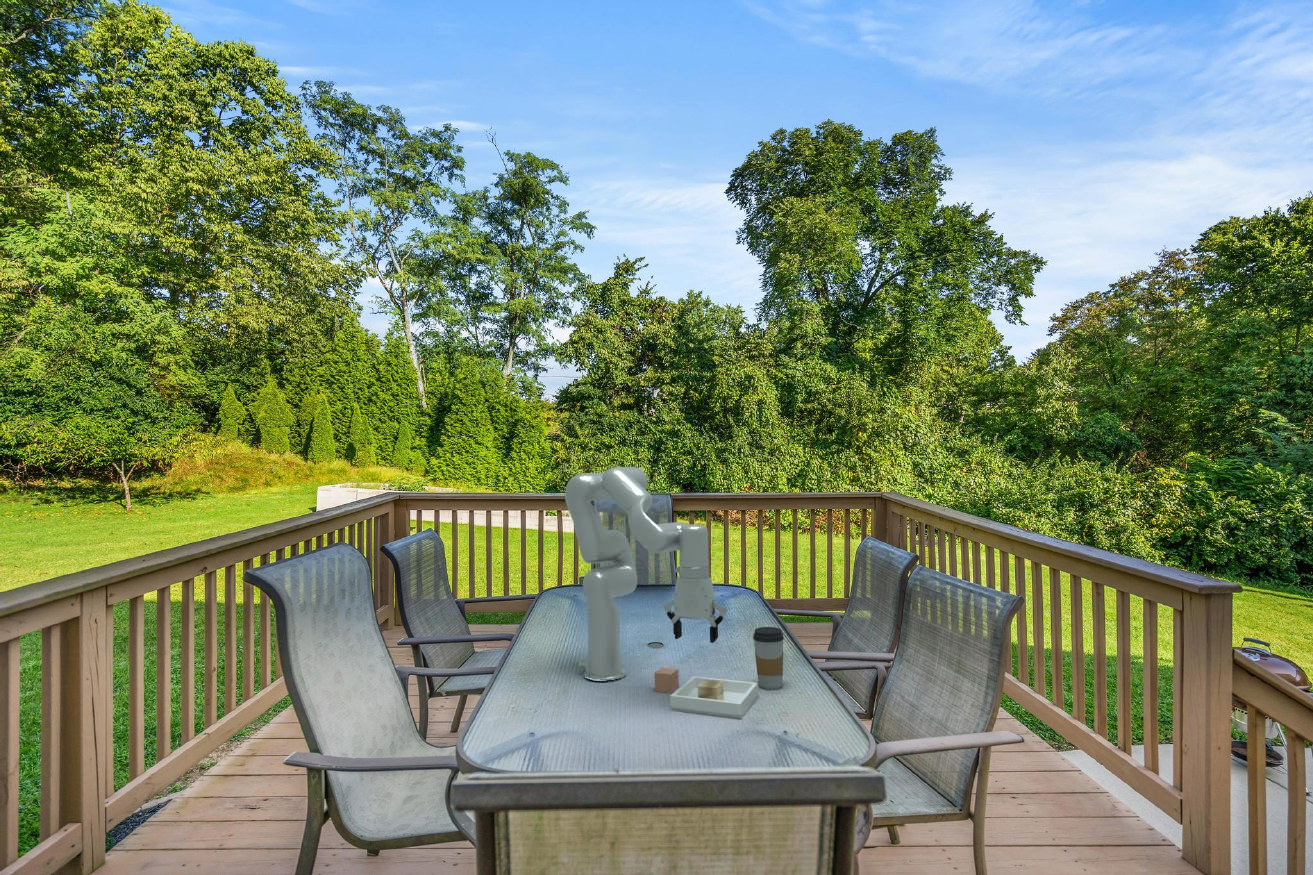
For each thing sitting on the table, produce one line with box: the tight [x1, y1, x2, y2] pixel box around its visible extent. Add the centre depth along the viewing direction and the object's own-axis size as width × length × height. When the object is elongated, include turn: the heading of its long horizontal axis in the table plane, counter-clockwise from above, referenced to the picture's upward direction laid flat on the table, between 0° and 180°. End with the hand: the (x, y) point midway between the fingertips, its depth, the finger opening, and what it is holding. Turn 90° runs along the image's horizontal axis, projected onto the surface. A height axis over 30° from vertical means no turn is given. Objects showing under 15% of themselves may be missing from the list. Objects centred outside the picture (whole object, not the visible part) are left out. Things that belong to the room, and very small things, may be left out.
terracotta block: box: [654, 667, 680, 694], centre depth 171 cm, size 5×5×5 cm
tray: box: [669, 675, 759, 720], centre depth 159 cm, size 18×16×4 cm
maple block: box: [698, 680, 724, 701], centre depth 156 cm, size 5×5×5 cm
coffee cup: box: [752, 626, 785, 691], centre depth 171 cm, size 8×8×15 cm
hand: (695, 639), depth 161 cm, fingers open, 9 cm apart
